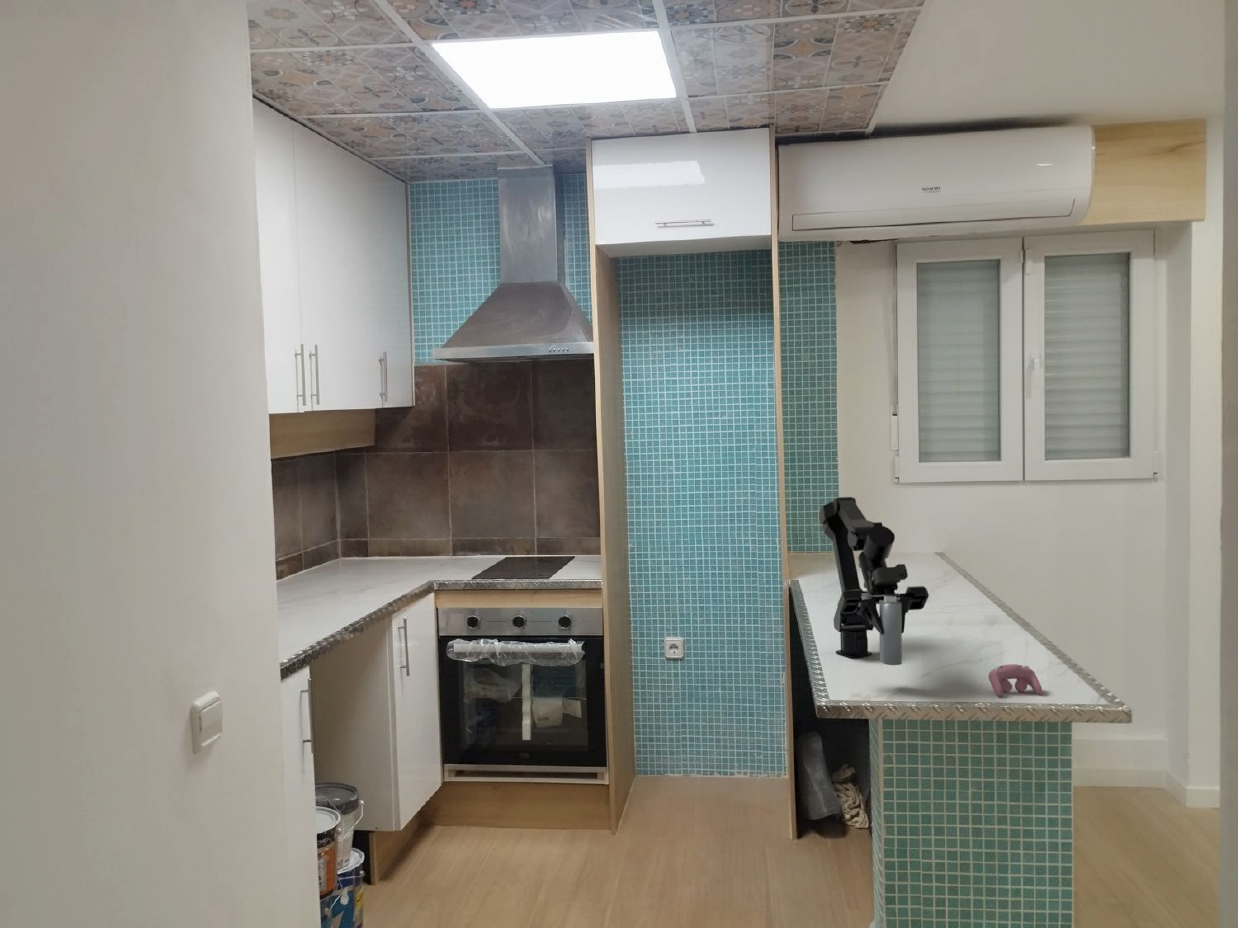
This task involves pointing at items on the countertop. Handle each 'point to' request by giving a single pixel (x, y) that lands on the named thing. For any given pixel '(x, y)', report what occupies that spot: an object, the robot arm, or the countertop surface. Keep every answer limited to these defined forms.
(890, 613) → the grey bottle
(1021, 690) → the video game controller
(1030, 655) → the countertop surface
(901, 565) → the robot arm
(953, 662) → the countertop surface
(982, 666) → the countertop surface
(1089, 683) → the countertop surface
